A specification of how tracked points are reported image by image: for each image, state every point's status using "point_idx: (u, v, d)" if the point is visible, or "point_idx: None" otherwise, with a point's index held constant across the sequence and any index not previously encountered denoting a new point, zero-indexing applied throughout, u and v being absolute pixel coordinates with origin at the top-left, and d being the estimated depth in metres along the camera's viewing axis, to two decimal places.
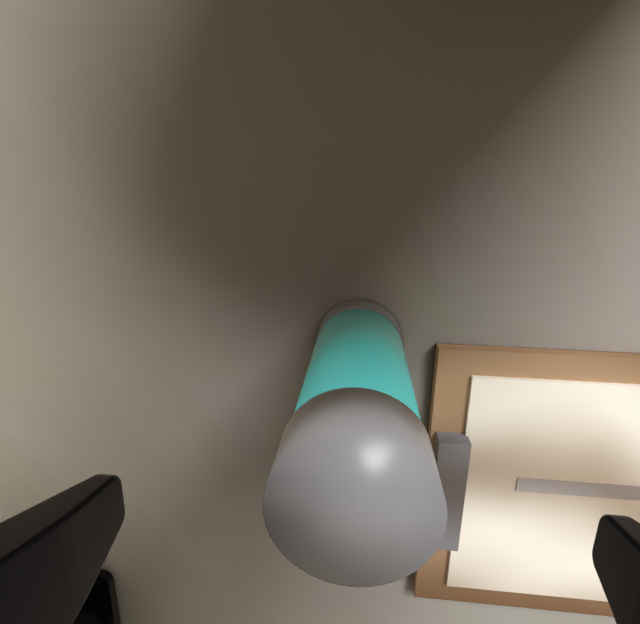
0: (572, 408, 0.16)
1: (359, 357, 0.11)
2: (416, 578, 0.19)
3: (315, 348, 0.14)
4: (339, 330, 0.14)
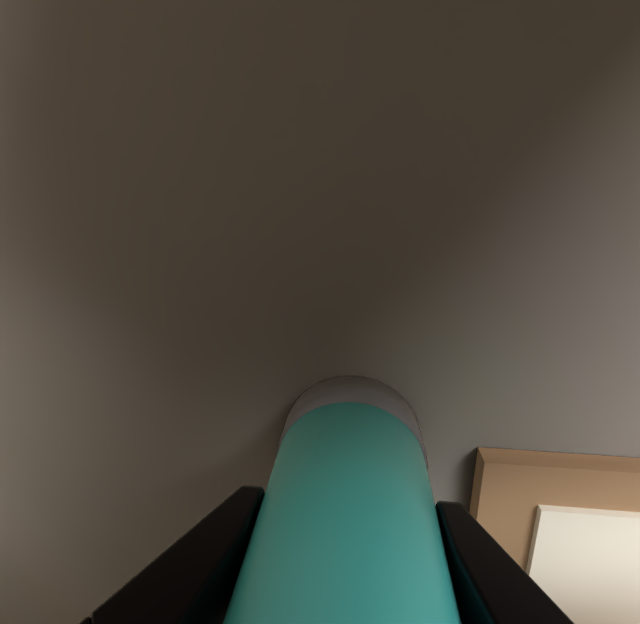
0: None
1: (342, 610, 0.05)
2: None
3: (266, 495, 0.07)
4: (309, 470, 0.07)
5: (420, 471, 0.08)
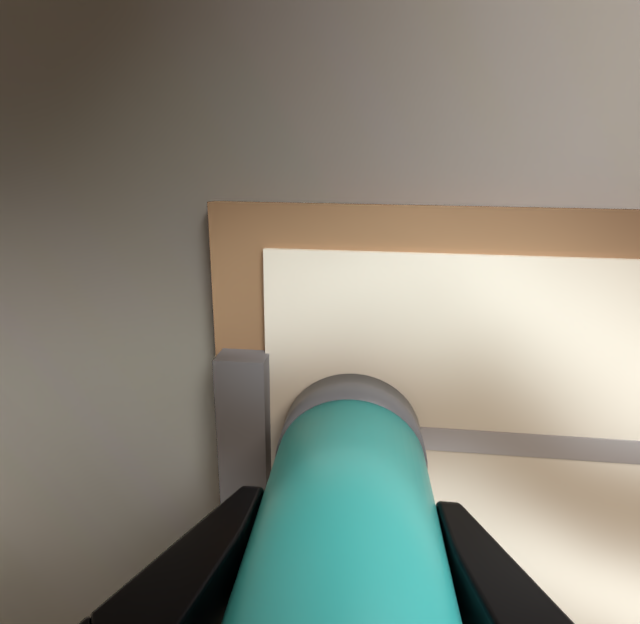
0: (429, 300, 0.10)
1: (342, 606, 0.05)
2: None
3: (266, 492, 0.07)
4: (309, 466, 0.07)
5: (420, 468, 0.08)
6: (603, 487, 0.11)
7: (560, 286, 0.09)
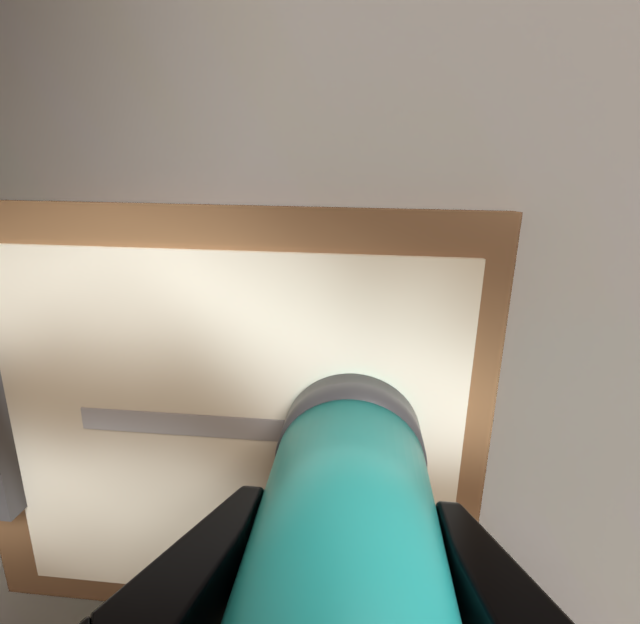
0: (125, 291, 0.10)
1: (342, 605, 0.05)
2: (5, 565, 0.14)
3: (265, 492, 0.07)
4: (309, 467, 0.07)
5: (420, 468, 0.08)
6: None
7: (237, 278, 0.10)
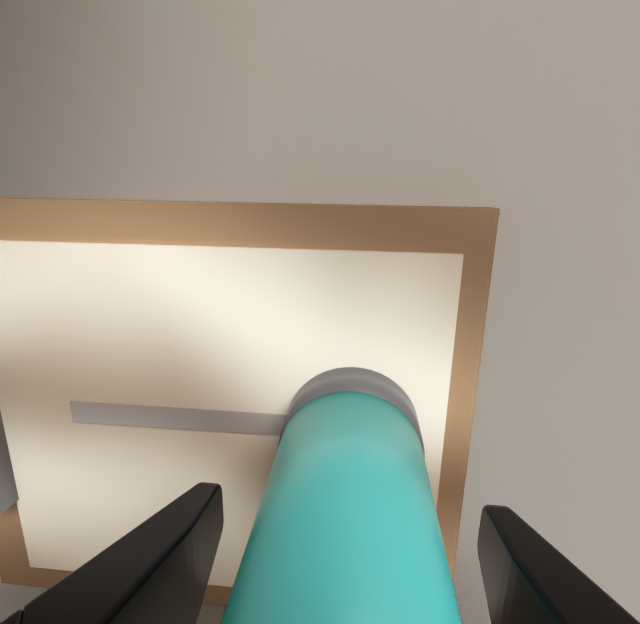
0: (112, 287, 0.11)
1: (344, 575, 0.05)
2: None
3: (270, 478, 0.08)
4: (311, 453, 0.07)
5: (417, 455, 0.08)
6: None
7: (221, 273, 0.10)
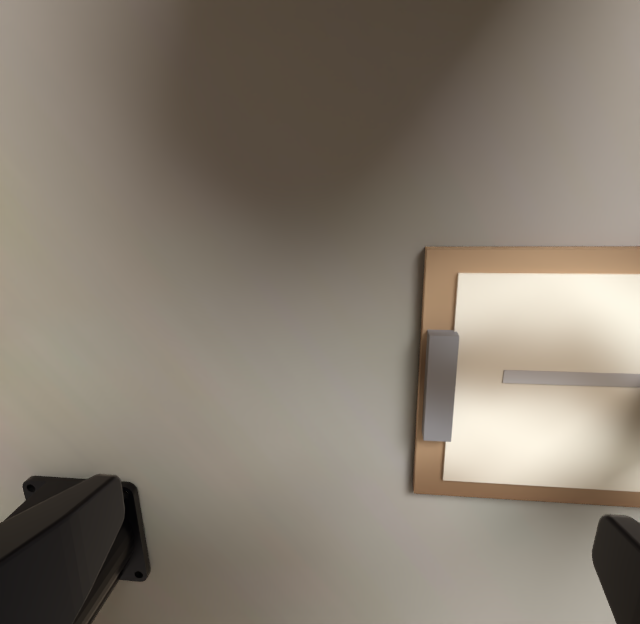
0: (551, 299, 0.18)
1: None
2: (415, 475, 0.21)
3: None
4: None
5: None
6: None
7: (625, 290, 0.17)
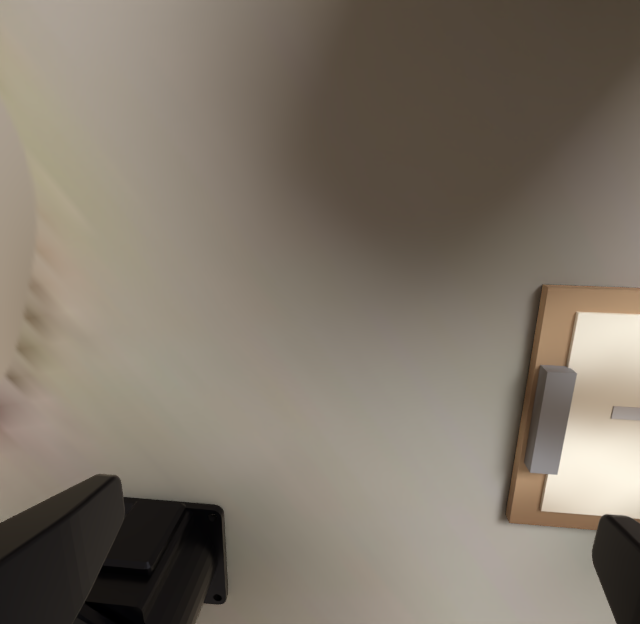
0: None
1: None
2: (511, 505, 0.21)
3: None
4: None
5: None
6: None
7: None
